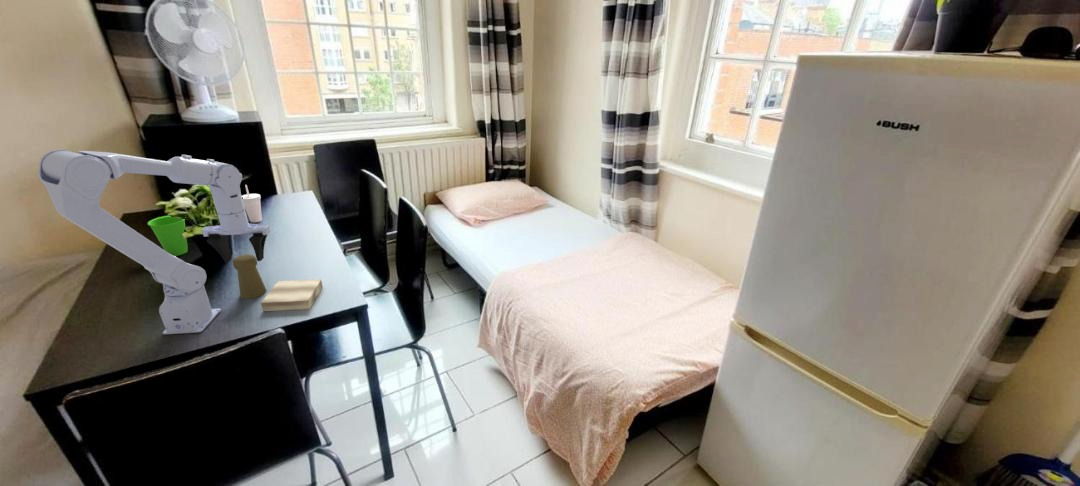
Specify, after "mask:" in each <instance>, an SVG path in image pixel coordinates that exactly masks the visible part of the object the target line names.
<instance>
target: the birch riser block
mask: <svg viewBox="0 0 1080 486" xmlns="http://www.w3.org/2000/svg"><path fill="white" fill-rule="evenodd" d="M322 289H323V283H322V279H320V278H319V279H301V280H300V279H297V280H295V279H294V280H278V281H277V282H276V283H275V284H274V286H273V287H272V288H271V289H270V290H269V292H268V293H267V294H266V296H264V297H263V299H262V301H261V302H260V306H261V308H262V311H263V312H273V311H274V312H275V311H276V312H277V311H278V312H279V311H293V310H311V308H312V306H313V305H314V303H315V301H316V299H317V298H318V296H319V295H320V292H321V291H322Z"/></svg>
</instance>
